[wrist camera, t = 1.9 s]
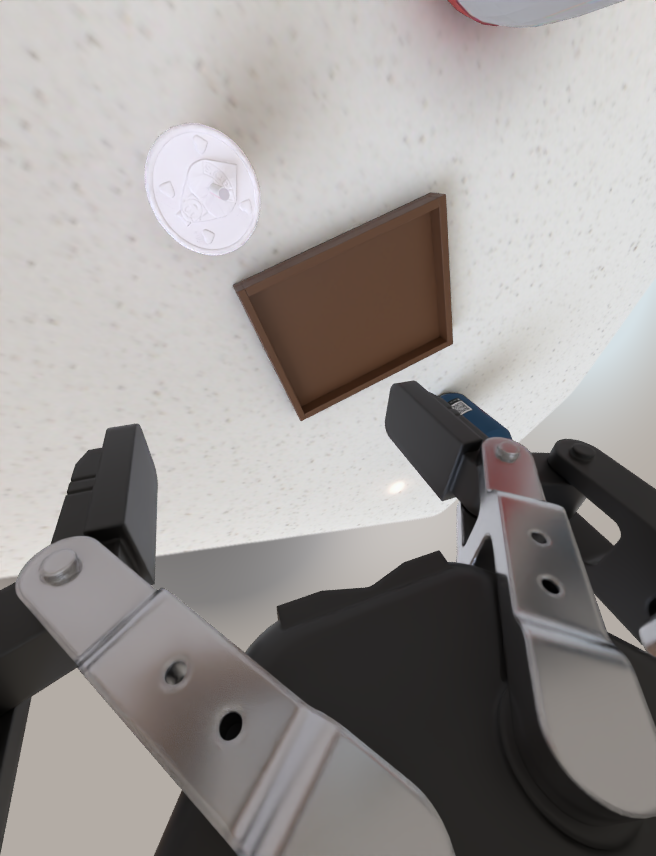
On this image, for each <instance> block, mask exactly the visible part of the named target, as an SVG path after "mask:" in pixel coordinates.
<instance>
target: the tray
mask: <svg viewBox="0 0 656 856" xmlns="http://www.w3.org/2000/svg"><path fill="white" fill-rule="evenodd" d="M233 287H234V289H235V291H236V293H237V295H238V297H239V299H240V301H241V303H242V305H243V307H244V309H245V311H246V313H247V315H248V317H249V319H250V321H251V323H252V325H253V327H254V329H255V331H256V333H257V335H258V337H259V339H260V341H261V343H262V345H263V347H264V349H265V351H266V353H267V355H268V357H269V359H270V361H271V363H272V365H273V367H274V369H275V371H276V373H277V375H278V377H279V379H280V381H281V383H282V385H283V387H284V389H285V391H286V393H287V395H288V397H289V399H290V401H291V403H292V405H293V407H294V409H295V411H296V413H297V415H298V417H299V419H300V421H302V420H304V419H306V418H308V417H310V416H312V415H314V414H316V413H318V412H320V411H322V410H324V409H326V408H328V407H330V406H332V405H334V404H336V403H338V402H340V401H342V400H344V399H346V398H348V397H350V396H352V395H354V394H356V393H357V392H359V391H361V390H363V389H365V388H367V387H369V386H371V385H373V384H375V383H377V382H379V381H381V380H383V379H385V378H387V377H389V376H391V375H393V374H395V373H397V372H399V371H401V370H403V369H405V368H407V367H408V366H410V365H412V364H414V363H416V362H418V361H420V360H422V359H424V358H426V357H428V356H430V355H432V354H434V353H436V352H438V351H440V350H442V349H444V348H446V347H447V346H450V345H452V344H453V333H452V312H451V291H450V270H449V249H448V228H447V207H446V194H439V193H429V194H427V195H425V196H423V197H421V198H419V199H416V200H414V201H412V202H410V203H408V204H406V205H404V206H401V207H399V208H397V209H395V210H393V211H391V212H389V213H386V214H384V215H382V216H380V217H378V218H376V219H374V220H372V221H369V222H367V223H365V224H363V225H361V226H359V227H357V228H354V229H352V230H350V231H348V232H346V233H344V234H342V235H339V236H337V237H335V238H333V239H331V240H329V241H327V242H324V243H322V244H320V245H318V246H316V247H314V248H312V249H309V250H307V251H305V252H303V253H301V254H299V255H297V256H294V257H292V258H290V259H288V260H286V261H284V262H282V263H280V264H277V265H275V266H273V267H271V268H269V269H267V270H265V271H262V272H260V273H258V274H256V275H254V276H252V277H250V278H247V279H245V280H243V281H241V282H239V283H237V284H235V285H233Z"/></svg>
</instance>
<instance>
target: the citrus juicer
mask: <svg viewBox="0 0 656 856" xmlns="http://www.w3.org/2000/svg"><path fill="white" fill-rule="evenodd" d="M448 1H449V2H450V3H451V5H452V6H453V7H454V8H455V9H456V10H457V11H459V12H461V13H462V14H464V15H466V16H467V17H469V18H471V19H473V20H475V21H477V22H479V23H481V24H485V25H492V26H499V25H501V26H507V27H514V28H517V27H537V26H541V25H546V24H550V23H555V22H559V21H563V20H567V19H570V18H574V17H578V16H581V15H584V14H587V13H590V12H593V11H596V10H599V9H601V8H604V7H607V6H610V5H613V4H616V3H619V2H622V1H624V0H448Z"/></svg>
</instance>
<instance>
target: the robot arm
mask: <svg viewBox="0 0 656 856" xmlns="http://www.w3.org/2000/svg"><path fill="white" fill-rule="evenodd" d="M385 428H386V432H387V434H388V436H389V437H390V439H391V440H392V441H393V442H394V443H395V445H396V446H397V447H398V448H399V450H400V451H401V452H402V453H403V454H404V456H405V457H406V458H407V459H408V460H409V462H410V463H411V464H412V465H413V467H414V468H415V469H416V470H417V471H418V473H419V474H420V475H421V476H422V478H423V479H424V480H425V481H426V482H427V484H428V485H429V486H430V487H431V488H432V490H433V491H434V492H435V493H436V495H437V496H438V497H439V498H440V499H441V501H444V500H448V499H451V498H455V497H457V499H458V500H459V503H458V505H457V559H456V562H447V561H446V559H445V558H444V556H443V555H442V554H441V552H440V551H436V552H433V553H430V554H427V555H424V556H421V557H418V558H415V559H412V560H410V561H407V562H404V563H403V564H401V565H400V566H398V567H397V568H396V569H394V570H393V571H392V572H390V573H389V574H387V575H386V576H385V577H383V578H382V579H381V580H380V581H378V582H376V583H375V584H374V585H372V586H370V587H366V588H353V589H341V590H327V591H320V592H317V593H314V594H311V595H308V596H306V597H302V598H300V599H297V600H294V601H291V602H288V603H285V604H282V605H280V606H277V615H278V621H277V622H275V623H274V624H273V625H271V626H270V627H268V628H267V629H266V630H265V631H264V632H263V633H262V634H261V635H259V637H258V638H257V639H256V640H255V641H254V642H253V643H252V644H251V645H250V647H249V648H248V649H247V651H246V652H245V653H244V652H243V651H242V650H241V649H239V648H238V647H237V646H236V645H235V644H233V643H232V642H231V641H230V640H229V639H227V638H226V637H225V636H224V635H223V634H221V633H220V632H219V631H218V630H216V629H215V628H214V627H213V626H212V625H210V624H209V623H208V622H207V621H206V620H204V619H203V618H202V617H201V616H200V615H198V614H197V613H196V612H195V611H193V610H192V609H191V608H189V607H188V606H187V605H186V604H185V603H184V602H183V601H181V600H180V599H179V598H178V597H176V596H175V595H174V594H173V593H171V592H170V591H168V590H167V589H165V588H160V589H159V590H156V589H155V588H153V587H152V586H151V585H153V584H154V583H155V582H154V581H155V553H156V521H157V489H158V482H157V474H156V469H155V466H154V462H153V460H152V457H151V454H150V451H149V448H148V446H147V443H146V440H145V437H144V434H143V432H142V429H141V427H140V425H139V424H131V425H125V426H119V427H112V428H108V429H107V430H106V434H105V438H104V442H103V447H102V448H98V449H92V450H88V451H87V452H86V453H85V455H84V456H83V457H82V458H81V459H80V460H79V461H78V462H77V463H76V464H75V468H74V471H73V474H72V477H71V482H70V484H69V487H68V490H67V495H66V497H65V500H64V503H63V506H62V509H61V513H60V516H59V519H58V522H57V526H56V529H55V532H54V535H53V538H52V542H51V545H49V546H47V547H46V548H44V549H42V550H41V551H40V552H38V553H37V554H36V555H34V556H33V557H32V558H31V559H30V560H29V561H28V562H27V563H26V564H25V566H24V567H23V568H22V570H21V571H20V573H19V575H18V577H17V580H16V582H15V583H13V584H12V585H10V586H8V587H6V588H4V589H2V590H0V852H1V848H2V843H3V838H4V832H5V828H6V823H7V818H8V812H9V807H10V802H11V797H12V792H13V786H14V782H15V777H16V772H17V767H18V762H19V757H20V752H21V747H22V742H23V737H24V732H25V726H26V722H27V717H28V711H29V707H30V702H31V697H32V696H33V695H35V694H36V693H37V692H39V691H41V690H43V689H44V688H45V687H47V686H49V685H50V684H52V683H53V682H55V681H56V680H58V679H60V678H61V677H63V676H64V675H66V674H67V673H69V672H70V671H72V670H74V669H75V668H78V669H79V670H80V672H81V673H82V674H83V675H84V676H85V678H86V679H87V680H88V681H89V682H90V684H91V685H92V686H93V687H94V688H95V689H96V690H97V692H98V693H99V694H100V695H101V696H102V697H103V699H104V700H105V701H106V702H107V703H108V704H109V706H110V707H111V708H112V709H113V710H114V711H115V713H116V714H117V715H118V716H119V717H120V718H121V720H122V721H123V722H124V723H125V724H126V725H127V727H128V728H129V729H130V730H131V731H132V732H133V734H134V735H135V736H136V737H137V738H138V739H139V740H140V742H141V743H142V744H143V745H144V746H145V748H146V749H147V750H148V751H149V752H150V753H151V754H152V755H153V757H154V758H155V759H156V760H157V761H158V763H159V764H160V765H161V766H162V767H163V768H164V770H165V771H166V772H167V773H168V774H169V775H170V777H171V778H172V779H173V780H174V781H175V782H176V784H177V785H178V786H179V787H180V788H181V789H182V791H181V794H180V796H179V798H178V801H177V803H176V805H175V808H174V810H173V812H172V815H171V817H170V820H169V822H168V824H167V826H166V829H165V831H164V833H163V836H162V838H161V840H160V843H159V845H158V847H157V850H156V852H155V855H154V856H656V489H655V488H653V487H652V486H650V485H649V484H647V483H646V482H645V481H643V480H642V479H640V478H639V477H637V476H636V475H635V474H633V473H631V472H630V471H629V470H627V469H626V468H625V467H623V466H622V465H620V464H619V463H617V462H616V461H615V460H613V459H612V458H610V457H609V456H607V455H606V454H604V453H603V452H602V451H600V450H599V449H597V448H596V447H594V446H592V445H590V444H587V443H584V442H582V441H578V440H573V439H562V440H559V441H557V442H556V444H555V445H554V447H553V449H552V450H551V452H550V453H531V452H530V451H529V450H528V449H527V448H526V447H524V446H523V445H521V444H520V443H518V442H516V441H513V440H510V439H507V438H502V437H492V438H489V437H488V436H487V435H486V434H484V433H483V432H482V431H481V430H480V429H478V428H477V427H476V426H475V425H474V424H472V423H471V422H470V421H469V420H468V419H466V418H465V417H464V416H463V415H462V416H461V413H459V412H458V411H457V410H456V409H455V408H454V409H453V408H452V406H451V405H450V404H449V403H447V402H446V401H445V400H444V399H443V398H441V397H438V396H436V395H434V394H432V393H430V392H428V391H427V390H426V389H424V388H423V387H422V386H421V385H420V384H419V383H417V382H416V381H408V382H402V383H396V384H393V385H392V387H391V389H390V394H389V400H388V406H387V412H386V417H385ZM586 498H588V499H589V500H590V501H591V502H593V503H594V504H595V505H596V506H597V507H598V508H600V509H601V510H602V511H603V512H605V514H607V515H608V516H609V517H610V518H611V519H613V520H614V521H615V522H616V523H617V525H618V526H619V528H620V531H621V538H620V540H619V541H618V542H617V543H616V544H615V545H612V544H611V543H610V542H609V541H608V540H607V539H606V538H605V537H604V536H602V535H601V534H600V533H599V532H598V531H597V530H596V529H595V528H594V527H592V526H591V525H590V524H589V523H588V522H587V521H586V520H585V519H584V518H583V517H581V516H580V515H579V514H578V513H577V512H576V511H577V510H578V509H579V507H580V506H581V504H582V503H583V502H584V500H585V499H586ZM594 594H595V595H596V596H597V597H598V598H599V599H600V600H601V601H602V603H603V604H604V605H605V606H606V607H607V608H608V609H609V610H610V611H611V612H612V613H613V614H614V615H615V616H616V618H617V619H618V620H619V621H620V622H621V623H622V624H623V625H624V626H625V627H626V628H627V629H628V630H629V631H630V632H631V633H632V635H633V636H634V637H635V638H636V639H637V640H638V641H639V642H640V643H641V644H642V645H643V646H644V648H645V650H646V651H643V650H641V649H639V648H637V647H635V646H634V645H632V644H629V643H627V642H626V641H624V640H622V639H620V638H618V637H616V636H614V635H612V634H610V633H608V632H607V630H606V628H605V625H604V622H603V619H602V616H601V613H600V610H599V607H598V604H597V601H596V598H595V595H594Z"/></svg>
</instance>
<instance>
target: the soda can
mask: <svg viewBox="0 0 656 856" xmlns="http://www.w3.org/2000/svg"><path fill="white" fill-rule="evenodd" d="M439 397H441V398H443V399H444V400H445V401H446V402H447V403H449V404H450V405H451V406H452V408H453V409H454V408H455V409H456V410H457V411H458V412H459V413H461V416H462V415H463V416H464V417H465V418H466V419H468V420H469V421H470V422H471V423H472V424H474V425H475V426H476V427H477V428H478V429H480V430H481V431H482V432H483V433H484V434H486V435H487V436H488V437H489V438H492V437H502V438H507V439H510V440H512V437H511V435H510V432H509V431H508V430H507V429H506V428H505V427H503V426H502V425H501V424H499V423H498V422H497V421H496V420H494V419H493V418H492V417H490V416H489V415H488V414H487V413H485V412H484V411H483V410H482V409H480V408H479V407H478V406H476V405H475V404H474V403H473V402H471V401H470V400H469V399H467V398H466V397H465V396H464V395H462V394H458V393H446V394H443V395H441V396H439Z"/></svg>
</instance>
